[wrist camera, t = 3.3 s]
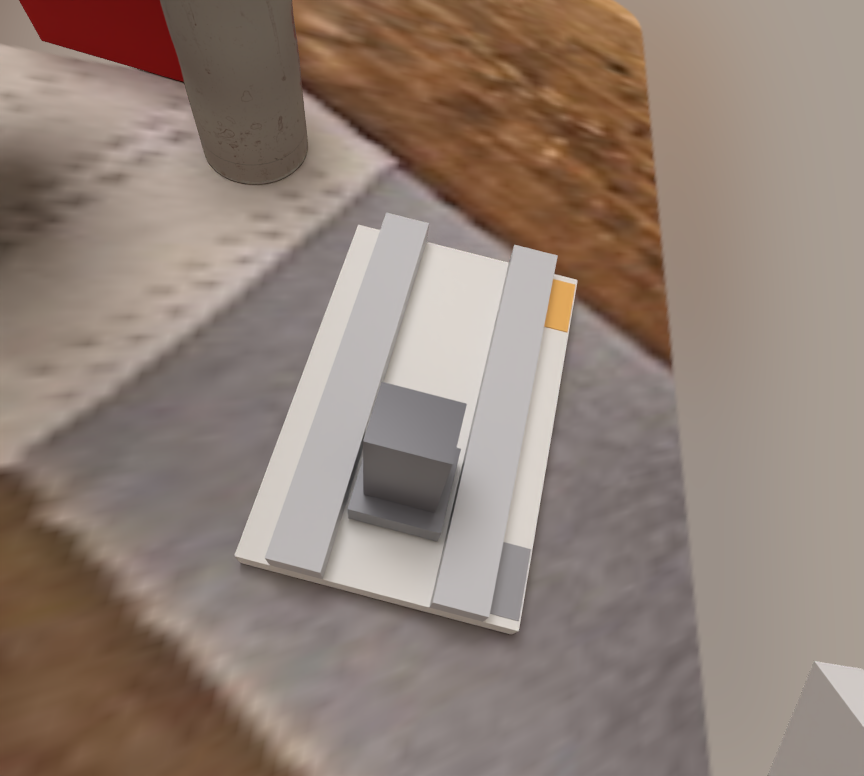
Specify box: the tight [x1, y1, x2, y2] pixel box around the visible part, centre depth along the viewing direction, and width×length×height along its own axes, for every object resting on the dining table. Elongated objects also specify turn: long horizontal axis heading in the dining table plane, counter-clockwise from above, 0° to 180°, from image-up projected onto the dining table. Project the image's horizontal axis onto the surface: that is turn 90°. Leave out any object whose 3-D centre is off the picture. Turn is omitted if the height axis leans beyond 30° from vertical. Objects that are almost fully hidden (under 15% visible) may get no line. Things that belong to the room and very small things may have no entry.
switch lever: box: [347, 382, 467, 542], centre depth 33 cm, size 5×5×10 cm
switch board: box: [235, 213, 577, 634], centre depth 41 cm, size 24×16×4 cm, turn 167°
